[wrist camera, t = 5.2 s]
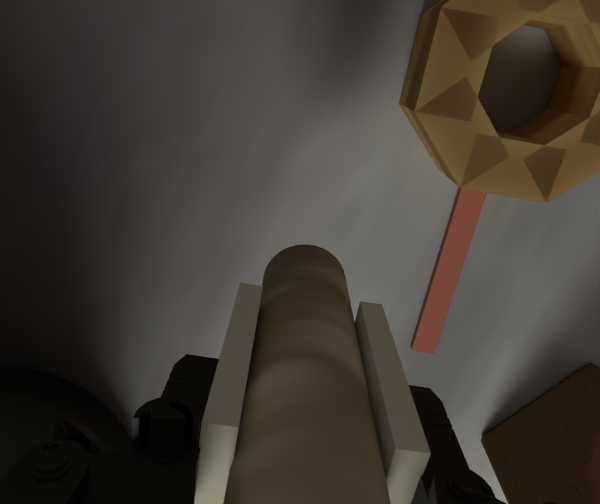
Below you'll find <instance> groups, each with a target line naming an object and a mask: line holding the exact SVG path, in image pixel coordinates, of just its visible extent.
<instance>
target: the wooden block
mask: <svg viewBox="0 0 600 504" xmlns="http://www.w3.org/2000/svg"><path fill="white" fill-rule="evenodd" d="M481 442H482V445H483V447H484V449H485V451H486V454H487V456H488V458H489V460H490V463H491V465H492V467H493V470H494V472H495V474H496V476H497V479H498V481H499V483H500V486H501V488H502V490H503V493H504V495H505V497H506V499H507V502H508V504H541V503H547V502H553V503H557V504H600V368H599V367H598V366H596V365H593V364H587V365H586V366H584V367H583V368H581V369H580V370H579V371H577V372H576V373H574V374H573V375H571V376H570V377H568V378H567V379H565V380H564V381H563V382H561V383H560V384H558V385H557V386H555V387H554V388H552V389H551V390H549V391H548V392H546V393H545V394H544V395H542V396H541V397H539V398H538V399H536V400H535V401H533V402H532V403H530V404H529V405H528V406H526V407H525V408H523V409H522V410H520V411H519V412H517V413H516V414H514V415H513V416H512V417H510V418H509V419H507V420H506V421H504V422H503V423H501V424H500V425H498V426H497V427H496V428H494V429H493V430H491V431H490V432H488V433H487V434H485V435H484V436H483V437H482V438H481Z"/></svg>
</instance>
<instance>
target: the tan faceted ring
mask: <svg viewBox="0 0 600 504" xmlns="http://www.w3.org/2000/svg"><path fill="white" fill-rule="evenodd" d="M522 25H528V26H534V27H539V28H544V29H545V31H546V33H547V35H548V37H549V39H550V41H551V43H552V45H553V48H554V50H555V52H556V54H557V56H558V58H559V60H560V62H561V64H562V68H561V71H560V74H559V77H558V80H557V82H556V85H555V88H554V91H553V94H552V96H551V99H550V102H549V105H548V108H547V109H546V110H545V111H543V112H541V113H540V114H538V115H537V116H535V117H534V118H532V119H530V120H529V121H527V122H526V123H524V124H523V125H521V126H519V127H518V128H516V129H515V130H513V131H512V132H510V133H509V132H504V131H498V130H495V128H494V127H493V125H492V123H491V121H490V119H489V117H488V116H487V114H486V112H485V110H484V108H483V106H482V105H481V103H480V101H479V99H478V94H479V91H480V88H481V84H482V81H483V78H484V74H485V71H486V68H487V64H488V61H489V58H490V54H491V51H492V48H493V45H495V44H496V43H498V42H499V41H500V40H502V39H503V38H505V37H506V36H508V35H509V34H511V33H512V32H513V31H515V30H516V29H518V28H519V27H521V26H522ZM399 104H400V106H401V108H402V109H403V111H404V113H405V114H406V116H407V117H408V119H409V121H410V122H411V124H412V126H413V127H414V129H415V131H416V132H417V134H418V136H419V137H420V139H421V141H422V142H423V144H424V146H425V147H426V149H427V151H428V152H429V154H430V155H431V157H432V159H433V160H434V162H435V164H436V165H437V167H438V169H439V170H440V171H441V172H443V173H444V174H445V175H446V176H447V177H448V178H449V179H451V180H452V181H453V182H454V183H455V184H456V185H457V186H459V187H460V188H464V189H470V190H476V191H481V192H487V193H493V194H499V195H504V196H510V197H516V198H521V199H527V200H533V201H538V202H544V203H547V202H549V201H551V200H552V199H554V198H556V197H557V196H559V195H561V194H562V193H564V192H566V191H568V190H569V189H571V188H573V187H574V186H576V185H578V184H580V183H581V182H583V181H585V180H586V179H588V178H590V177H591V176H593V175H595V174H597V173H598V172H600V0H440V1H439V2H438V3H436V4H435V5H434V6H432V7H431V8H429V9H428V10H427V11H425V12H424V13H423V14H421V15H420V19H419V23H418V27H417V32H416V36H415V40H414V44H413V48H412V52H411V57H410V61H409V65H408V69H407V73H406V77H405V82H404V86H403V90H402V94H401V98H400V102H399Z"/></svg>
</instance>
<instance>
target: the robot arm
mask: <svg viewBox="0 0 600 504" xmlns="http://www.w3.org/2000/svg"><path fill="white" fill-rule="evenodd" d="M262 289H263V286H258V285H251V284H245V283H240V286H239V289H238V293H237V297H236V300H235V304H234V308H233V311H232V315H231V318H230V322H229V326H228V329H227V333H226V336H225V340H224V344H223V347H222V351H221V354H220V358H219V359H215V358H208V357H202V356H195V355H188V354H186V355H185V356H184V357H183V358H182V359H180V360H179V361H178V362H177V363H176V364H174V367H173V369H172V371H171V374H170V376H169V380H168V381H167V383H166V386H165V389H164V391H163V393H162V395H161V398H157V399H154V400H152V401H149V402H146V403H145V404H144V405H143V406H141V407H140V408H139V409H138V410H137V411H136V413H135V415H134V417H133V428H132V445H131V443H130V440H129V438H128V436H127V434H126V433H125V431H124V429H123V428H122V426H121V425H120V423H119V422H118V421H117V420H116V418H115V417H114V416H113V415H112V414H111V413H110V412H109V411H108V410H107V409H106V408H105V407H104V406H103V405H102V404H101V403H99V402H98V401H97V400H96V399H94V398H93V397H92V396H90V395H89V394H87V393H86V392H84V391H83V390H81V389H79V388H77V387H76V386H74V385H72V384H70V383H68V382H65V381H63V380H61V379H58V378H56V377H53V376H50V375H47V374H43V373H40V372H35V371H31V370H25V369H17V368H0V504H223V503H224V497H225V491H226V486H227V480H228V475H229V471H230V467H231V465H232V463H233V460H234V454H235V448H236V442H237V436H238V430H239V425H240V419H241V413H242V407H243V401H244V395H245V390H246V384H247V378H248V372H249V366H250V360H251V355H252V349H253V343H254V337H255V331H256V325H257V320H258V314H259V308H260V301H261V295H262ZM355 328H356V333H357V338H358V343H359V348H360V353H361V358H362V363H363V368H364V373H365V378H366V383H367V388H368V393H369V398H370V403H371V408H372V413H373V418H374V423H375V428H376V433H377V437H378V442H379V447H380V452H381V457H382V462H383V467H384V472H385V477H386V482H387V487H388V492H389V497H390V502H391V504H506V503H504V502H502V501H500V500H498V499H496V498H495V495H494V493H493V491H492V489H491V487H490V486H489V485H488V484H487V483H486V481H485V480H484V479H483V478H482V477H480V476H479V475H477V474H476V473H475V472H473V471H472V470H470V469H469V467H468V464H467V462H466V459H465V457H464V455H463V452H462V450H461V447H460V445H459V442H458V440H457V437H456V435H455V433H454V430H453V429H452V425H451V423H450V420H449V418H447V413H446V411H445V408H444V406H443V403H442V401H441V400H440V399H439V398H438V397H437V396H436V395H435V393H434V392H433V391H432V390H431V389H430V388H425V387H418V386H411V385H408V382H407V379H406V376H405V373H404V370H403V367H402V364H401V361H400V358H399V355H398V352H397V349H396V346H395V343H394V340H393V337H392V334H391V331H390V328H389V325H388V322H387V318H386V315H385V312H384V309H383V306H382V305H381V304H374V303H368V302H361V301H360V304H359V308H358V312H357V316H356V320H355ZM541 504H557V503H553V502H547V503H541Z"/></svg>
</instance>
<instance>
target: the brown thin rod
mask: <svg viewBox="0 0 600 504" xmlns="http://www.w3.org/2000/svg"><path fill="white" fill-rule="evenodd" d="M486 193H487V192H481V191H476V190H470V189H464V188H460V187H459V189H458V193H457V196H456V199H455V202H454V206H453V209H452V212H451V216H450V219H449V222H448V225H447V229H446V232H445V235H444V238H443V242H442V245H441V248H440V251H439V255H438V258H437V261H436V264H435V268H434V271H433V274H432V278H431V281H430V284H429V287H428V291H427V294H426V297H425V300H424V304H423V307H422V310H421V313H420V317H419V320H418V323H417V327H416V330H415V333H414V336H413V340H412V343H411V349H412V350H415V351H422V352H428V353H434V351H435V348H436V345H437V342H438V338H439V335H440V332H441V329H442V326H443V323H444V320H445V317H446V314H447V311H448V308H449V305H450V302H451V299H452V296H453V293H454V290H455V287H456V284H457V281H458V278H459V275H460V272H461V269H462V266H463V263H464V260H465V257H466V254H467V251H468V248H469V245H470V242H471V239H472V236H473V233H474V230H475V227H476V223H477V220H478V217H479V214H480V211H481V208H482V205H483V202H484V199H485V196H486Z"/></svg>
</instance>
